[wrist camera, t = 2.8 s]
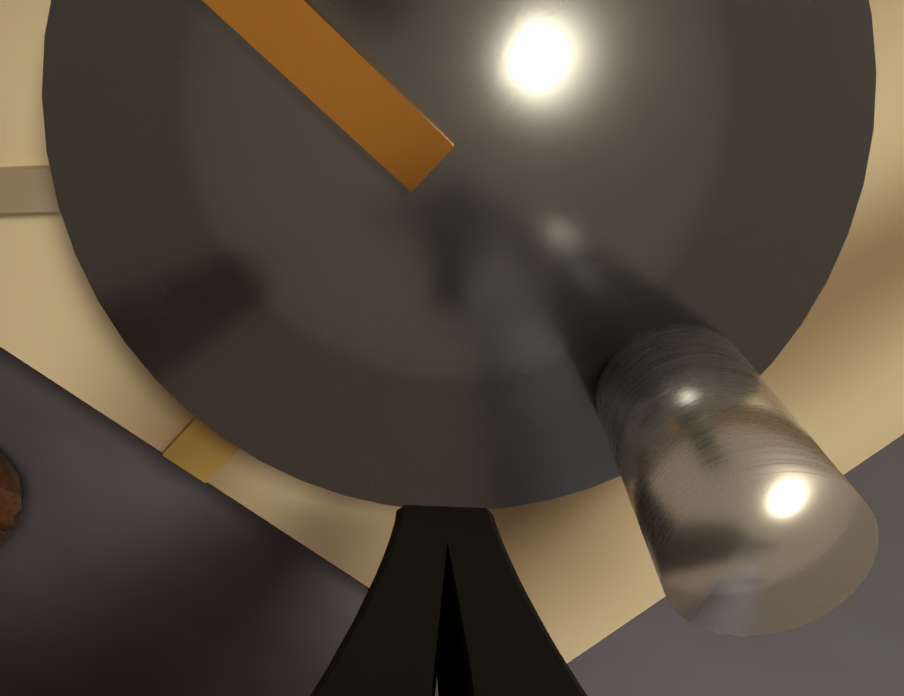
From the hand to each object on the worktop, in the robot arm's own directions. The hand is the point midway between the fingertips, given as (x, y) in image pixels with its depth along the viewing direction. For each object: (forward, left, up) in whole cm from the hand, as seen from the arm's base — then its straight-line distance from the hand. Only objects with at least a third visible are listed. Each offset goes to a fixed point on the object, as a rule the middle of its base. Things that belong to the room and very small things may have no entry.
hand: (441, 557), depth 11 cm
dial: (+3, -4, -3) cm, 6 cm away
